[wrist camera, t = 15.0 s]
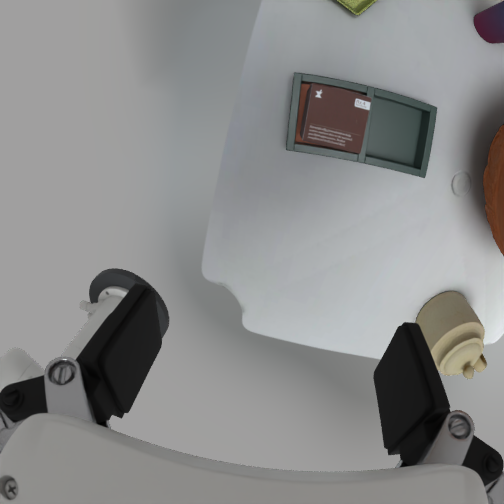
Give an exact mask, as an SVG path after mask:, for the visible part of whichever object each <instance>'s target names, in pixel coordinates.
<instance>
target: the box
mask: <svg viewBox="0 0 504 504" xmlns="http://www.w3.org/2000/svg"><path fill="white" fill-rule="evenodd" d="M371 100H372V98H371V97H368V96H365V95H362V94H358V93H354V92H351V91H347V90H344V89H340V88H335V87H331V86H327V85H322V84H318V83H312V84H311V85H310V87H309V89H308V90H307V94H306V100H305V106H304V112H303V117H302V124H301V130H300V136H301V138H302V140H303V141H306V142H310V143H315V144H319V145H324V146H328V147H333V148H337V149H341V150H345V151H349V152H353V153H358V154H360V153H361V149H362V145H363V140H364V135H365V131H366V126H367V121H368V116H369V111H370V106H371Z"/></svg>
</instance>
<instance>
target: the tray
mask: <svg viewBox="0 0 504 504" xmlns="http://www.w3.org/2000/svg"><path fill="white" fill-rule="evenodd" d="M312 83H318V84H322V85H327V86H331V87H335V88H340V89H344V90H347V91H351V92H354V93H358V94H362V95H365V96H368V97H371V98H372V100H371V106H370V111H369V116H368V121H367V126H366V131H365V135H364V140H363V145H362V149H361V153H360V154H358V153H353V152H349V151H345V150H341V149H337V148H333V147H328V146H324V145H319V144H315V143H310V142H306V141H303V140H302V138H301V136H300V130H301V124H302V117H303V112H304V106H305V100H306V94H307V90H308V89H309V87H310V85H311V84H312ZM436 113H437V107H435V106H432V105H429V104H426V103H423V102H421V101H418V100H415V99H412V98H409V97H405V96H402V95H399V94H396V93H392V92H389V91H385V90H381V89H378V88H374V87H370V86H366V85H362V84H357V83H353V82H348V81H343V80H338V79H333V78H328V77H322V76H316V75H309V74H302V73H294V79H293V89H292V98H291V108H290V117H289V126H288V135H287V144H286V150H289V151H296V152H303V153H310V154H316V155H322V156H328V157H334V158H339V159H344V160H350V161H355V162H360V163H365V164H369V165H374V166H378V167H383V168H387V169H391V170H395V171H400V172H404V173H407V174H411V175H415V176H419V177H422V178H425V176H426V171H427V167H428V162H429V157H430V151H431V146H432V140H433V134H434V128H435V121H436Z"/></svg>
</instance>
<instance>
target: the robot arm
mask: <svg viewBox="0 0 504 504" xmlns="http://www.w3.org/2000/svg"><path fill="white" fill-rule="evenodd" d="M80 308H81V309H82V310H85V311H90V312H91V313H89V314H88V318H89V320H88V321H87V323H86V324H85V325H84V326H83V327H82V328H81V330H80V331H79V332H78V334H77V335H76V336H75V337H74V339H73V340H72V341H71V343H70V344H69V345H68V346H67V348H66V349H65V350H64V352H63V353H62V355H61V357H58V358H56V359H54V360H52V361H51V362H50V363H49V364H48V365H47V367H46V369H45V370H44V369H43V368H42V367H41V366H40V365H39V364H38V363H37V362H36V361H34V359H33V358H31V356H29V355H28V354H27V353H26V352H25V351H24V350H22V349H20V348H12V349H10V350H8V351H7V352H6V353H5V354H4V355H3V356H2V357H1V358H0V504H504V472H503V471H502V470H503V459H502V457H501V455H500V454H499V453H498V452H497V451H496V450H495V449H493V448H492V447H490V446H489V445H487V444H486V443H484V442H483V441H482V440H480V439H479V438H477V437H476V436H474V430H475V429H474V423H473V421H472V419H471V417H470V416H469V415H468V414H467V413H465V412H463V411H460V410H455V411H452V412H450V409H449V408H450V405H449V401H448V399H447V395H446V393H445V389H444V387H443V384H442V381H441V378H440V375H439V373H438V370H437V367H436V365H435V362H434V359H433V357H432V354H431V352H430V349H429V347H428V344H427V342H426V340H425V337H424V335H423V333H422V330H421V328H420V326H419V324H418V323H408V322H405V323H403V324H402V326H399V327H398V328H397V330H396V332H395V334H394V336H393V338H392V340H391V342H390V344H389V346H388V348H387V350H386V351H385V353H384V355H383V357H382V359H381V360H380V362H379V364H378V366H377V368H376V369H375V371H374V383H375V388H376V395H377V400H378V407H379V413H380V419H381V426H382V434H383V441H384V447H385V448H386V449H388V455H395V454H400V458H401V460H400V461H399V463H398V464H397V466H396V467H395V468H391V469H380V470H367V471H348V472H312V471H292V470H279V469H269V468H260V467H252V466H245V465H238V464H233V463H227V462H222V461H217V460H212V459H207V458H202V457H198V456H193V455H190V454H186V453H182V452H178V451H175V450H171V449H167V448H164V447H161V446H158V445H154V444H151V443H148V442H145V441H142V440H139V439H136V438H133V437H130V436H127V435H125V434H122V433H119V432H117V431H114V430H111V427H110V424H109V421H108V420H109V419H110V417H111V415H114V416H117V417H119V418H122V417H123V415H124V413H128V412H129V411H130V409H131V407H132V405H133V403H134V401H135V398H136V397H137V394H138V392H139V391H140V388H141V386H142V384H143V382H144V380H145V378H146V376H147V374H148V372H149V370H150V368H151V366H152V364H153V362H154V360H155V358H156V356H157V354H158V352H159V350H160V348H161V345H162V338H161V332H160V326H159V320H158V313H157V306H156V299H155V293H154V291H151V288H150V287H149V286H145V285H140V284H134V285H133V287H132V288H131V289H130V290H127V289H125V288H122V287H118V286H110V287H107V288H105V289H104V290H103V291H102V292H101V293H100V295H99V298H98V303H93V304H91V303H90V302H86V301H81V303H80Z"/></svg>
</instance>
